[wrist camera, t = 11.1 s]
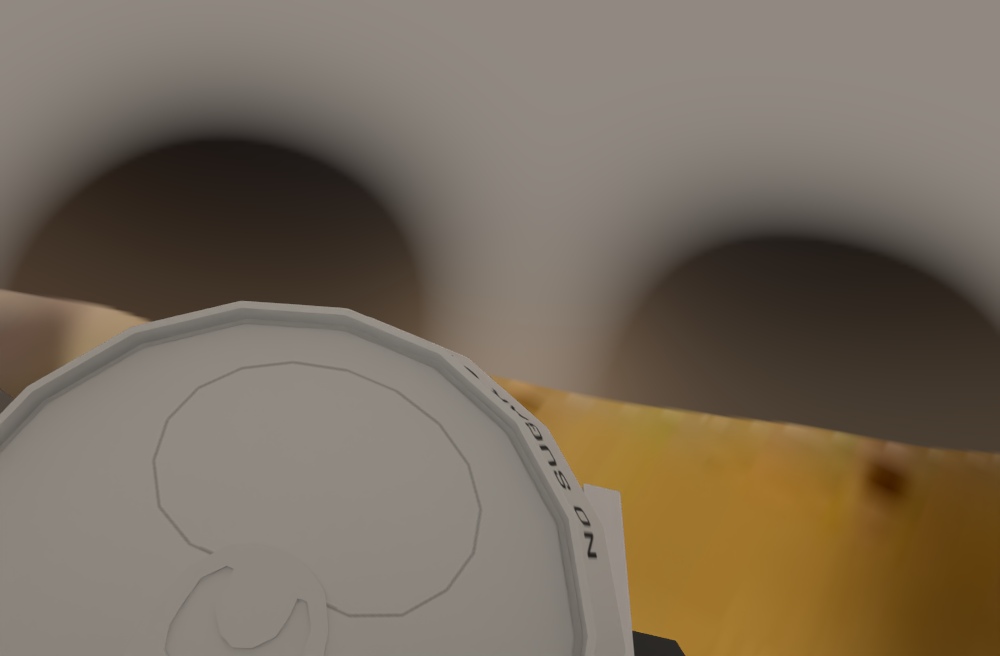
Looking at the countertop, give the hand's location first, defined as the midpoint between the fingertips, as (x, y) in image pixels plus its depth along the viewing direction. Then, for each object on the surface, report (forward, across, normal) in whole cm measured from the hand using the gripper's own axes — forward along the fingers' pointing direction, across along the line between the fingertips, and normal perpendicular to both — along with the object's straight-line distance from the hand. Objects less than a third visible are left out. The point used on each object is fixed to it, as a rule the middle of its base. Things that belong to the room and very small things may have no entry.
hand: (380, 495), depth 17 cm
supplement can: (+2, 0, +7) cm, 7 cm away
